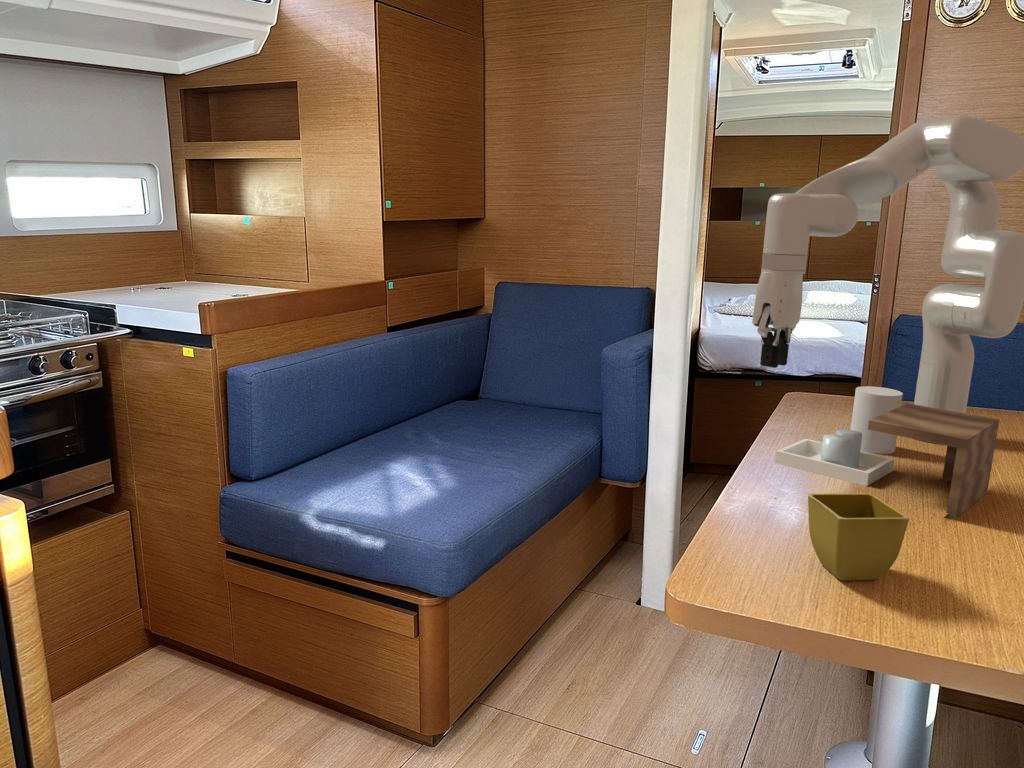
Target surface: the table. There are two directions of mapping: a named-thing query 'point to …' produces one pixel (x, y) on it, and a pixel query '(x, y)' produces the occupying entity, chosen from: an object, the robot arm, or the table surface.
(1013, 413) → the table surface
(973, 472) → the counter
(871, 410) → the white cylinder
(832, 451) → the blue-grey rounded cylinder
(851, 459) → the grey rounded cylinder
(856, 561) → the flower pot
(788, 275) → the robot arm
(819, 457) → the tray
